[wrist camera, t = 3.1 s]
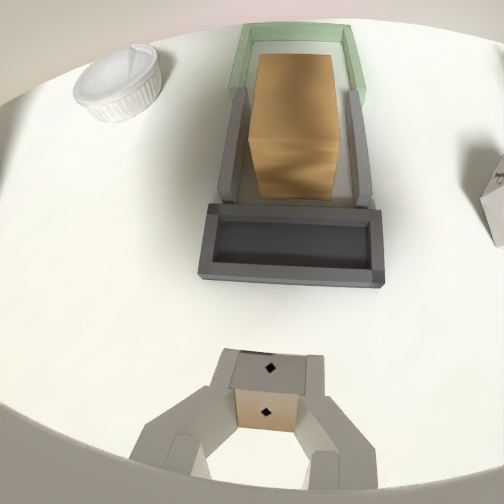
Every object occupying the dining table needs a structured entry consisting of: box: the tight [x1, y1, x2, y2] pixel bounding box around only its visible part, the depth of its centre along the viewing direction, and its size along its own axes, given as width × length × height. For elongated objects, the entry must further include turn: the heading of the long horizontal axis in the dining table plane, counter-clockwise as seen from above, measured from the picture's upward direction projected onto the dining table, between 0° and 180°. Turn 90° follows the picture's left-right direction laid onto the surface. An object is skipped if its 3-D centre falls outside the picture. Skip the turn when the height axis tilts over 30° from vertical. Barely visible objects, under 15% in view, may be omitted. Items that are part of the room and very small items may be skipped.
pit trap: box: [198, 204, 385, 288], centre depth 25 cm, size 14×6×2 cm, turn 85°
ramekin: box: [73, 44, 162, 123], centre depth 33 cm, size 11×11×5 cm
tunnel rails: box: [217, 88, 373, 209], centre depth 28 cm, size 12×12×3 cm
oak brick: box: [248, 54, 340, 200], centre depth 25 cm, size 6×10×8 cm, turn 175°
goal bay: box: [229, 22, 366, 106], centre depth 32 cm, size 14×14×2 cm
